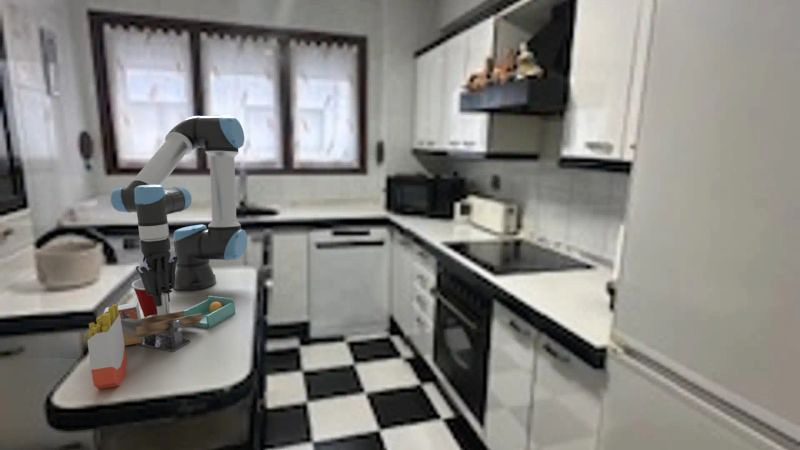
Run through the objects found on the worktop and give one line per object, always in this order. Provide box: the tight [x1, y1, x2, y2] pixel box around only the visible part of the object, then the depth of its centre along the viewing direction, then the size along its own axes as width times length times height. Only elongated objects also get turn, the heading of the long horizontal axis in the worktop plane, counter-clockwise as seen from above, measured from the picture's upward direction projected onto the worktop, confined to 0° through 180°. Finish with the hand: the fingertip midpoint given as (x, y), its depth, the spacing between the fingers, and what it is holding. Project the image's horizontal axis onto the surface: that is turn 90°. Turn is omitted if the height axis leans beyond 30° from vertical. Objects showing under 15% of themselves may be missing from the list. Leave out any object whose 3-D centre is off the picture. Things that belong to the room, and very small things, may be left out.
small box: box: [102, 301, 144, 346], centre depth 122 cm, size 8×6×10 cm
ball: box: [209, 302, 222, 313], centre depth 142 cm, size 4×4×4 cm
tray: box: [183, 295, 236, 329], centre depth 139 cm, size 12×10×5 cm
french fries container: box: [87, 303, 127, 390], centre depth 102 cm, size 5×11×18 cm, turn 20°
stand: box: [136, 316, 191, 353], centre depth 122 cm, size 6×13×7 cm, turn 72°
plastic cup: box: [131, 278, 157, 318], centre depth 140 cm, size 11×11×12 cm
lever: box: [121, 310, 202, 339], centre depth 123 cm, size 22×15×4 cm
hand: (163, 314), depth 131 cm, fingers closed
